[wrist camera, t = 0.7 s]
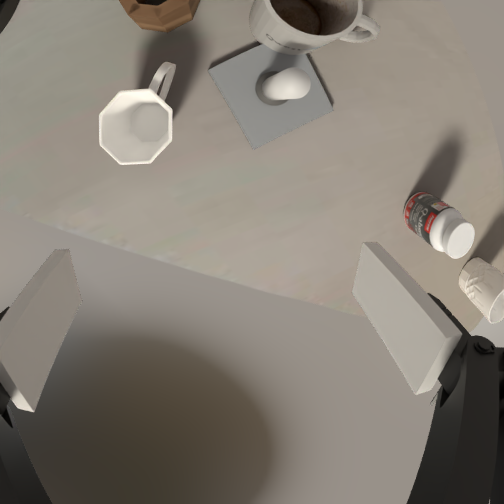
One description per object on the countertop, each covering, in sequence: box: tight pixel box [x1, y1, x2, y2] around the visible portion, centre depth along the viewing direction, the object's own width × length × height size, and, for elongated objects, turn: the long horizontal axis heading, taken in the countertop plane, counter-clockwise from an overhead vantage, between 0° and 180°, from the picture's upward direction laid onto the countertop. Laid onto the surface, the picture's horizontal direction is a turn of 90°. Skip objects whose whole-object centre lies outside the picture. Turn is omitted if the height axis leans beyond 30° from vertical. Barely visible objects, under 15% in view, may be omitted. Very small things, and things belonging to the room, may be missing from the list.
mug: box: [249, 0, 380, 55], centre depth 23 cm, size 12×9×10 cm
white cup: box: [459, 257, 504, 324], centre depth 41 cm, size 8×8×10 cm
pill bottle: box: [404, 192, 475, 259], centre depth 34 cm, size 6×6×10 cm
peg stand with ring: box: [208, 44, 334, 150], centre depth 26 cm, size 10×10×10 cm
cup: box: [99, 62, 176, 165], centre depth 26 cm, size 7×10×8 cm
